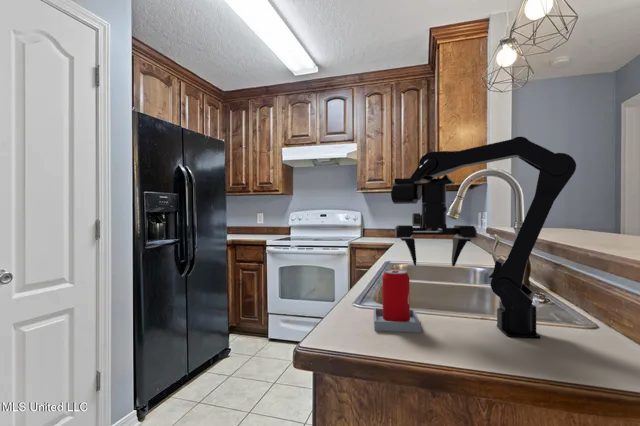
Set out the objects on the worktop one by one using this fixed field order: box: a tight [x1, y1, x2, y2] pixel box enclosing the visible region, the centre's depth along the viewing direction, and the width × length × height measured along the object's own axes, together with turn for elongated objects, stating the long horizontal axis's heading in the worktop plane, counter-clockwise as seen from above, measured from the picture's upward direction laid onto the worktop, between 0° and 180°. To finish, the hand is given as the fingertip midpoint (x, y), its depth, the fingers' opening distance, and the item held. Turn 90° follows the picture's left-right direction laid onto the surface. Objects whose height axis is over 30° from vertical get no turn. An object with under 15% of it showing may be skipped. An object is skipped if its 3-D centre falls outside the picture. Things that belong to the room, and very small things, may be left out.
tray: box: [373, 307, 422, 334], centre depth 77 cm, size 10×10×2 cm
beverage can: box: [382, 268, 411, 322], centre depth 77 cm, size 6×6×12 cm
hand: (433, 265), depth 82 cm, fingers open, 9 cm apart
